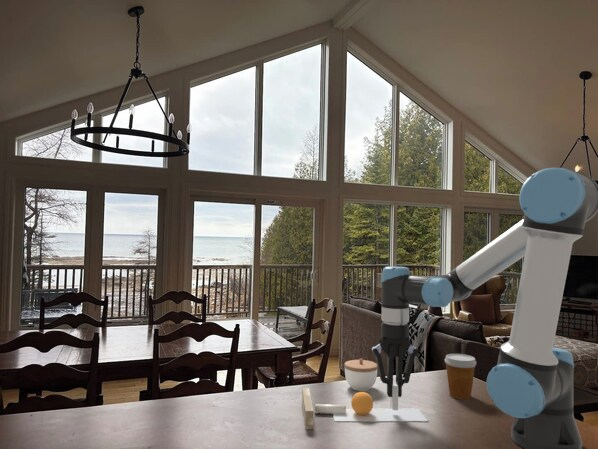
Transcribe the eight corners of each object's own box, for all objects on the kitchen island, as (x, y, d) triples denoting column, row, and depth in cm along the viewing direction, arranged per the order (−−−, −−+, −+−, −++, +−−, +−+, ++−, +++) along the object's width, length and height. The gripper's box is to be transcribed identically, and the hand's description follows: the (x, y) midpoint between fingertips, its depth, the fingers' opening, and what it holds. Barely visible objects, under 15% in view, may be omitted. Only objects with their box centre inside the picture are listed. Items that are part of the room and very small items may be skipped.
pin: (345, 404, 130) (315, 403, 131) (346, 405, 128) (315, 404, 128) (345, 413, 130) (315, 412, 130) (346, 415, 127) (314, 414, 128)
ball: (343, 401, 129) (354, 420, 129) (357, 398, 125) (368, 418, 124) (355, 389, 133) (366, 408, 133) (369, 386, 129) (381, 405, 128)
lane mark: (417, 409, 133) (417, 408, 133) (427, 421, 124) (427, 420, 124) (330, 409, 132) (331, 408, 132) (334, 421, 123) (334, 420, 123)
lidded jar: (376, 394, 145) (377, 364, 145) (342, 391, 147) (342, 362, 148) (377, 384, 156) (378, 355, 156) (345, 381, 158) (346, 353, 158)
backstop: (308, 403, 136) (308, 387, 136) (313, 428, 118) (313, 410, 119) (301, 403, 136) (302, 387, 136) (305, 428, 118) (305, 410, 118)
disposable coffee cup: (444, 399, 142) (444, 359, 142) (444, 389, 151) (444, 352, 151) (477, 402, 139) (477, 362, 140) (475, 392, 148) (475, 354, 149)
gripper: (414, 320, 133) (413, 403, 132) (369, 319, 132) (368, 403, 132) (422, 325, 126) (421, 413, 125) (374, 324, 125) (373, 413, 124)
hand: (394, 408), depth 128 cm, fingers closed
